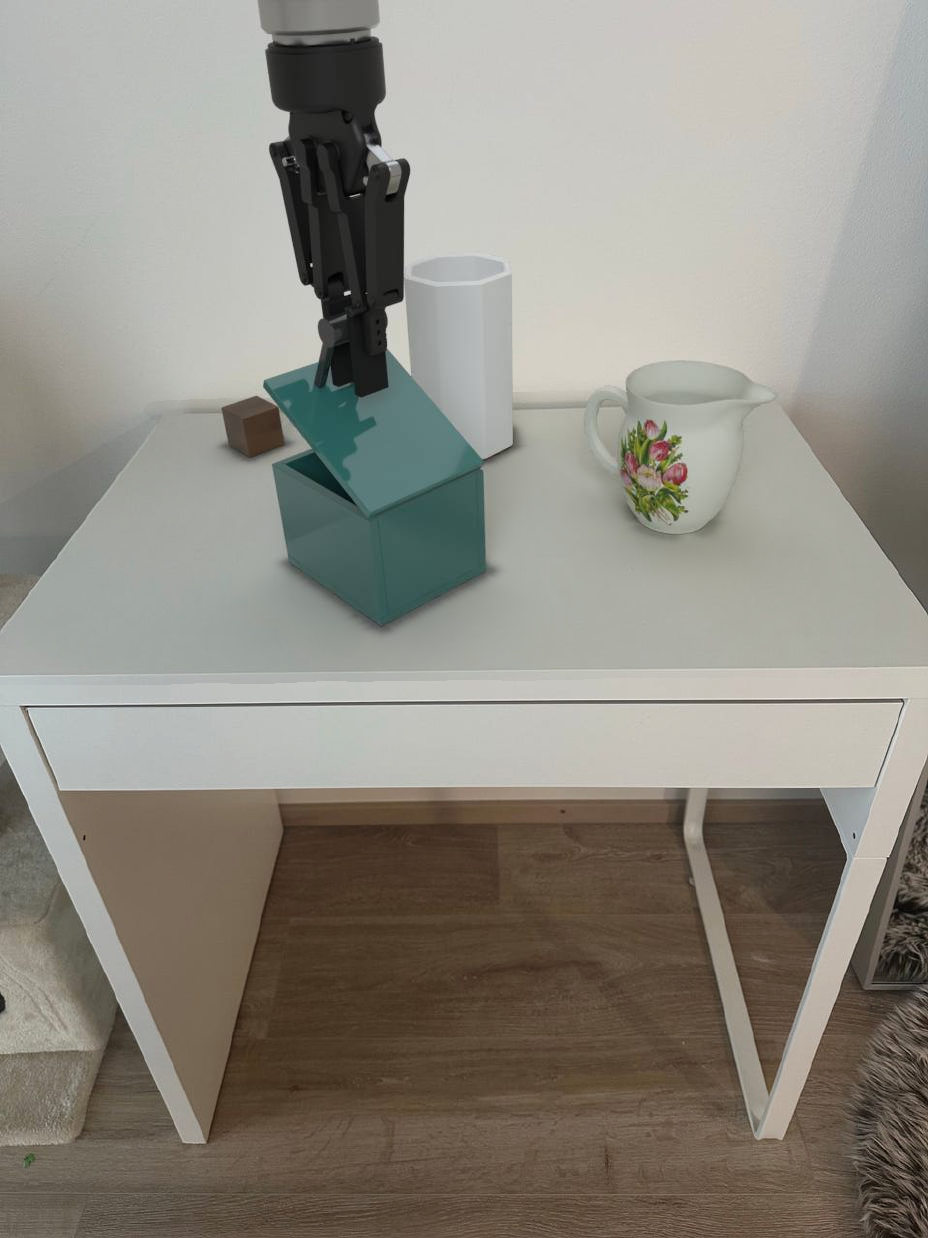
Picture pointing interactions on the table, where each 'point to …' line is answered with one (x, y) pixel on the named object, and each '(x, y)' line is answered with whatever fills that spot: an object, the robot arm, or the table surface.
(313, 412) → the lid
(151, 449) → the table surface
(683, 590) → the table surface
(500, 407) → the cup
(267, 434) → the block
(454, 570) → the tin
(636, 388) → the pitcher
